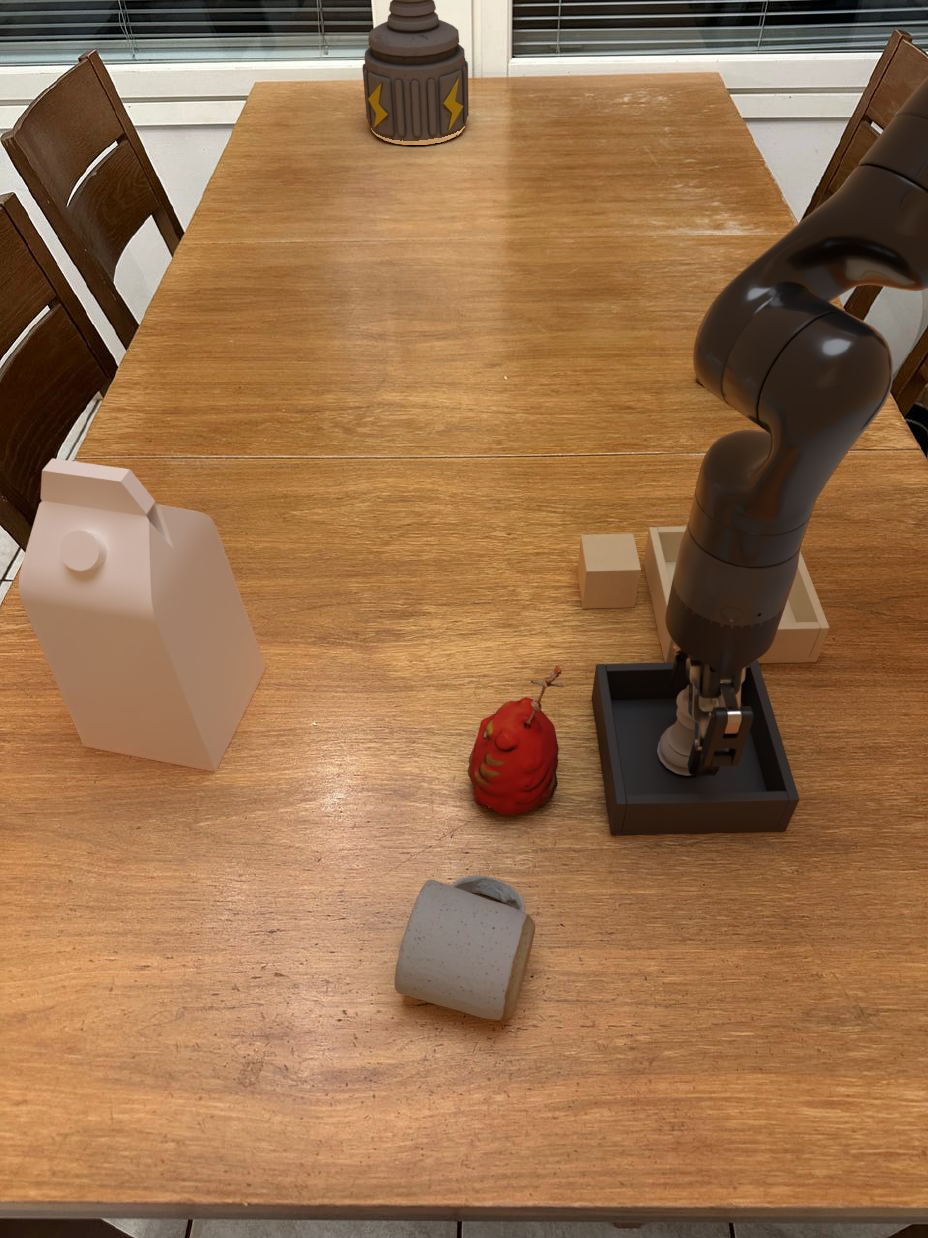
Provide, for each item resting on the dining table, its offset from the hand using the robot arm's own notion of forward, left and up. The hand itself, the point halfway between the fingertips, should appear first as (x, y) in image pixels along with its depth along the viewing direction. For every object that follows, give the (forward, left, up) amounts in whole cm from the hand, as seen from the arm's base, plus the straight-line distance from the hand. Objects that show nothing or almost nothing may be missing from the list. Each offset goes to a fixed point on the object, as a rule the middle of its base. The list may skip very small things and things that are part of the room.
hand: (691, 727), depth 75 cm
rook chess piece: (0, 0, -4) cm, 4 cm away
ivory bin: (-7, -17, -5) cm, 19 cm away
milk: (+43, -7, -5) cm, 44 cm away
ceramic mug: (+18, +16, -5) cm, 25 cm away
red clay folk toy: (+14, +2, -5) cm, 15 cm away
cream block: (+4, -20, -5) cm, 21 cm away
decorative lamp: (+24, -139, -5) cm, 141 cm away
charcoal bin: (0, 0, -5) cm, 5 cm away
